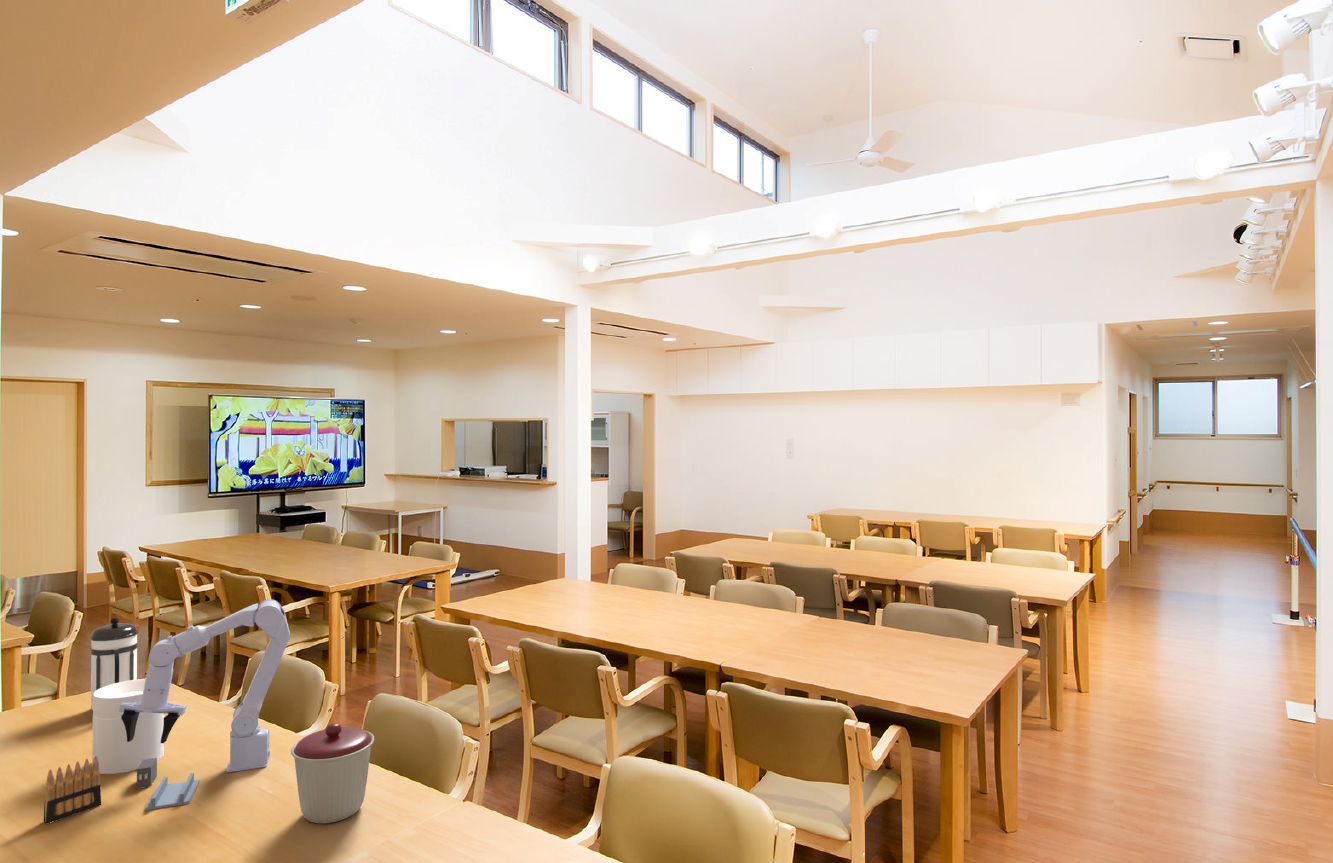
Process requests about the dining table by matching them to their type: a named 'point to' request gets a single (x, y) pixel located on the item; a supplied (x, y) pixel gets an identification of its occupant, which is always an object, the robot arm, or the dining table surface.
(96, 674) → the coffee press
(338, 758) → the canister
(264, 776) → the dining table surface
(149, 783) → the charcoal plug
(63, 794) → the ammunition clip
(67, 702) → the dining table surface
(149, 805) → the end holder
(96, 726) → the canister
